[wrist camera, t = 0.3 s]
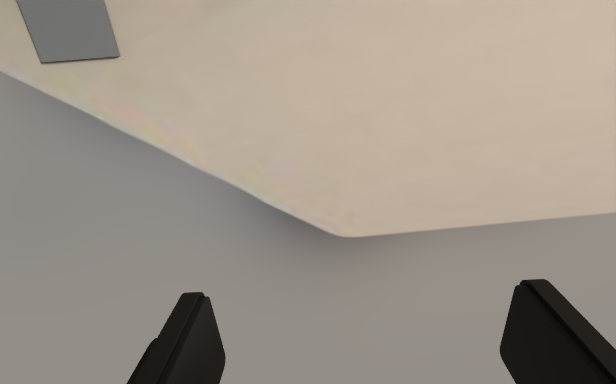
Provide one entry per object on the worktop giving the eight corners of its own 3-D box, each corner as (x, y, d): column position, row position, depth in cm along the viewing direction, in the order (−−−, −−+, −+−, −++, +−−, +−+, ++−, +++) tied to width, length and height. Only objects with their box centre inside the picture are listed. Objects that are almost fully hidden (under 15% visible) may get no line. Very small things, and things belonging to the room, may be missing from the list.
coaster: (9, -32, 32) (3, -34, 32) (91, -40, 32) (88, -42, 31) (45, 62, 36) (41, 62, 36) (120, 56, 36) (117, 56, 35)
